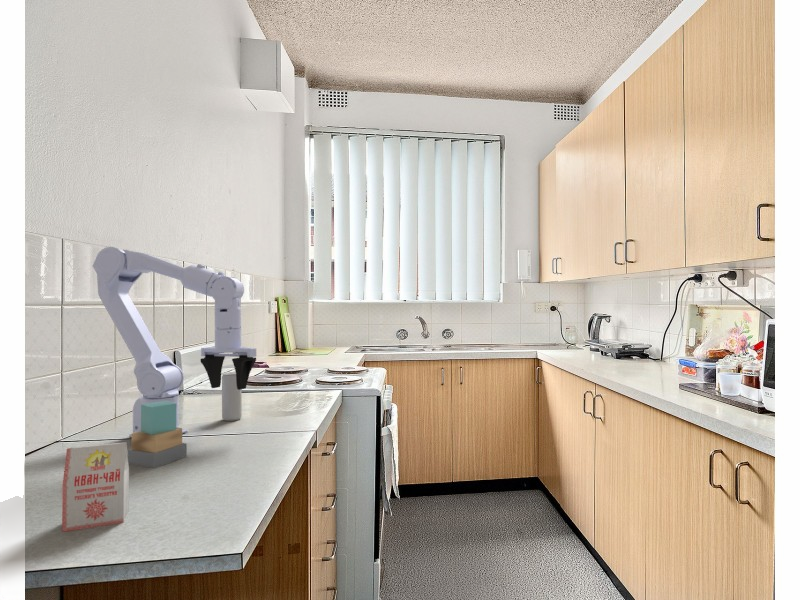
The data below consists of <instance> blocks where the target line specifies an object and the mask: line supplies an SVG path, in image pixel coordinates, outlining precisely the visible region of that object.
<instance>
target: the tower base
mask: <svg viewBox="0 0 800 600" xmlns="http://www.w3.org/2000/svg"><path fill="white" fill-rule="evenodd" d="M187 444H188V443H185V442H182V444H180V445H177V446H175V447H172V448H169V449H166V450H163V451H160V452H157V453H153V452H145V451H137V450H131V448H129V449H128V448H127V455H128V464H129V465H135V466H140V467H145V468H146V467H147V468H151V469H156V468H159V467H161V466H164V465H167V464H171V463H173V462H176V461H178V460H181V459H183V458H184V459H185V458H187V455H188V454H187V451H188V450H187V447H188V446H187Z"/></svg>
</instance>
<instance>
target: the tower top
mask: <svg viewBox="0 0 800 600" xmlns="http://www.w3.org/2000/svg"><path fill="white" fill-rule="evenodd" d="M182 429H183V428H182V427H179V428H176V430H173V431H168V432H163V433H158V434H153V435H150V434H147V433H145V432H142V431H139V432H135V433H133V432H132V433H130V434H131V448H130V449H131V450H137V451H145V452H153V453H157V452H160V451H163V450H166V449H169V448H172V447H175V446H177V445H180V444H182V443H183V433H182Z"/></svg>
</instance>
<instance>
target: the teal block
mask: <svg viewBox="0 0 800 600" xmlns="http://www.w3.org/2000/svg"><path fill="white" fill-rule="evenodd" d="M173 430H176V403H172V402H168V401H161V402H154V403H147V404H141V431H142V432H145V433H147V434H150V435H153V434H158V433H163V432H168V431H173Z"/></svg>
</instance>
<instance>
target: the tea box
mask: <svg viewBox="0 0 800 600" xmlns="http://www.w3.org/2000/svg"><path fill="white" fill-rule="evenodd" d="M129 502H130V464H128V442H127V441H125V442H115V443H106V444H95V445H85V446H76V447H75V446H74V447H67V448H66V456H65V466H64V472H63V480H62V505H61V507H62V510H61V512H62V514H61V516H62V519H61V520H62V521H61V522H62V523H61V524H62V525H61V532H69V531H77V530H83V529H89V528H90V529H91V528H96V527H103V526H108V525H115V524H120V523H121V524H123V523H124V522H125V520H126V518H127V517H128V514H129V512H130V506H129V505H130V503H129Z"/></svg>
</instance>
